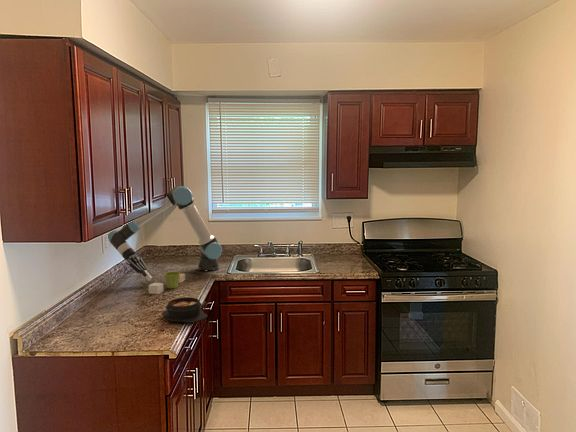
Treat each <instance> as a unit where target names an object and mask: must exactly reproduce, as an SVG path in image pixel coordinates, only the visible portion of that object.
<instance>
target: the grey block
mask: <svg viewBox="0 0 576 432" xmlns="http://www.w3.org/2000/svg"><path fill="white" fill-rule="evenodd" d="M164 290H165V289H164V282H163V283H162V282H153V283H150V284H148V294H151V295H159V294H161V293H163V292H164Z"/></svg>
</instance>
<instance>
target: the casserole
mask: <svg viewBox="0 0 576 432" xmlns="http://www.w3.org/2000/svg"><path fill="white" fill-rule="evenodd" d="M202 305H203V304H202V303H201V301H200V300H199V298H196V297H189V296H188V297H179V298H173V299H171V300H169V301H168V302H167V305H166V306H165V310H164V311H162V312H161V315H162V316H163V317H164V319H166V320H167V321H169V322H170V321H171V322H175V323H189V324H190V323H197V322H200V321H203V320H205V319H207V318H208V314H206V313H205V312H204V311H203V310H202V309H201V307H202Z"/></svg>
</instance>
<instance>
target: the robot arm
mask: <svg viewBox="0 0 576 432" xmlns="http://www.w3.org/2000/svg"><path fill="white" fill-rule="evenodd" d="M166 193H167V196H166V205H165V206H164V207H162V208H160V209H158V210H155V211H153V212H151V213H149V214H147V215H145V216H143V217H141V218H139V219H137V220H134V221H132V222H130V223H128V224H126V225H124V226H123V227H122V226H121V229H119V230H116V229H114V231H113V230H112V231H110V232H109V233H108V234H107V235H108V239H109V240H108V239H107V240H108V241H109V243H110V244H111V245H112V246H113V247H114V249H115V250H116V251H117V252H118V253H119V254H120V255H121V257H122V258H123V259H124V260H126V263H125V264H126V265H127V266H129V267H131V268H132V269H133V270H134V271H135V272H136V273H137V274H139V275H142V276H143V277H144V278H145V279H146V280H147V281H148V282H150V281H151V280H152V279H153V276H152V275H151V274H150V273H149V271H148V266H147V265H146V263H145V262H144V260H143V258H142V256H138V255H137V254H136V252H135V250H134V249H133V248H132V246H131V245H130V244H129V243H128V242H127V240H129V238H131V237H132V236H133V235H135V234H136V233H137V232H138V231H139V230H140V229H141V227H142V226H143V225H144V224H145V223H147V222H149V221H150V220H152V219H154V218H155V217H156V216H158V215H159V214H161V213H162V212H164V211H165V210H167V209H169V208H170V207H174V206H177V208H178V209H179V210H180V211H182V212H183V214H184V215H185V217H186V219H187V221H188V222H189V225H190V226H191V228H192V229H193V231H194V232H195V235H196V237H197V238H198V241H199V242H198V243H199V246H198V247H199V260H198V263H197V270H198V269H199V270H214V269H218V268H219V269H220V265H219V262H218V258H219V257H221V255H222V253H223V248H222V247H223V246H222V245H221V244H220V243H219V241H218V240H217V238H216V236H215V235H212V234H211V232H210V230H209V228H208V226H207V225H206V223H205V221H204V219H203V218H202V215H201V214H200V212H199V210H198V209H197V206H196V204H195V203H196V200H195V199H194V196H193V192H192V191H191V190H190V188H188V187H186V186H183V185H177V186H174V187H173V188H171V190H169V191H168V192H166ZM219 269H218V270H219ZM199 270H198V271H199ZM214 271H215V270H214Z"/></svg>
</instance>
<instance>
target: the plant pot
mask: <svg viewBox="0 0 576 432" xmlns="http://www.w3.org/2000/svg"><path fill="white" fill-rule="evenodd" d="M179 274H180V272H179V271H168V272H165V273H163V275H164V278H165V281H166V283H165V284H166V288H168V289H177V288H178V287H179V286H178V285H179V283H178V279H179Z"/></svg>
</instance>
